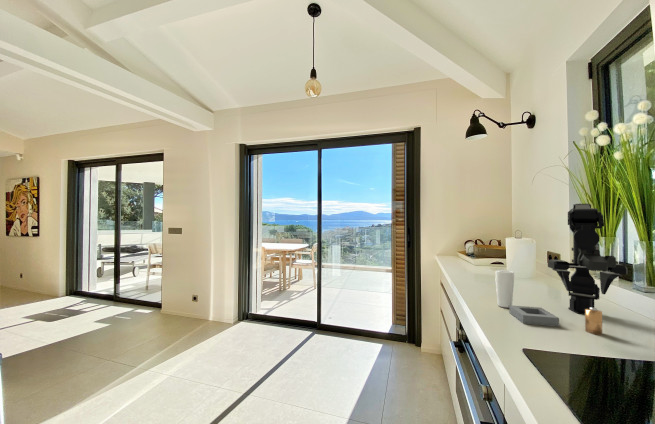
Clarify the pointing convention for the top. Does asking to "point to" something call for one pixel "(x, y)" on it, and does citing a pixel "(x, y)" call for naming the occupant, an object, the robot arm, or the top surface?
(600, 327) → the battery cell
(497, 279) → the drinking glass
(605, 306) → the top surface
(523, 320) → the gray cradle
